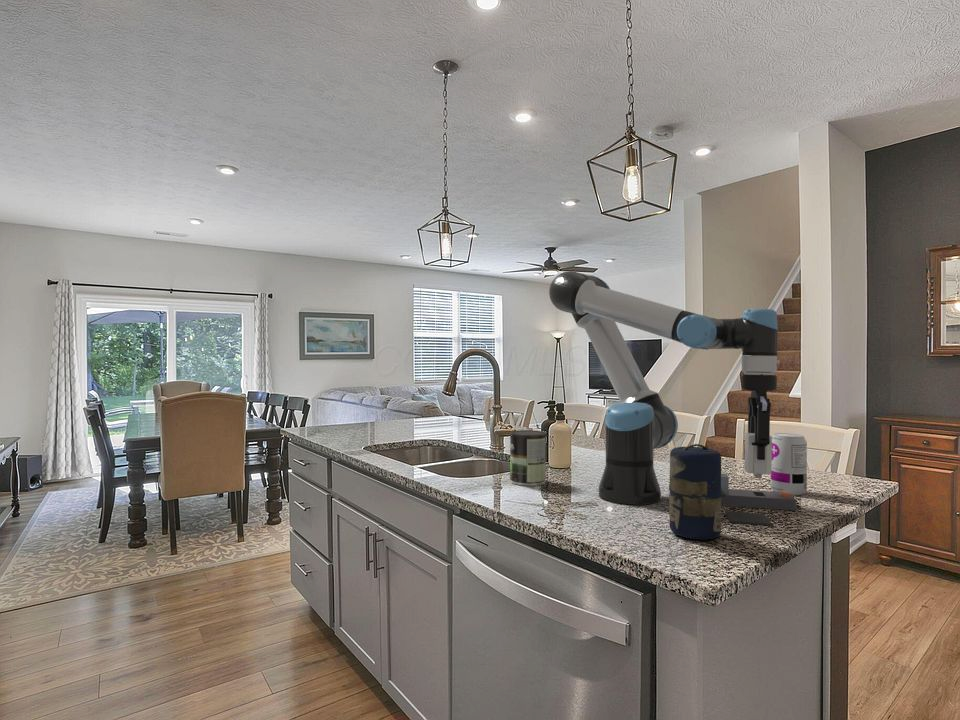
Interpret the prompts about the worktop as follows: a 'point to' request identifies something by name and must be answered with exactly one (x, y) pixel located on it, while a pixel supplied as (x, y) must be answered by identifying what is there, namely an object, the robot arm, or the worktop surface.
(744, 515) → the mat
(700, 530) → the canister
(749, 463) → the block
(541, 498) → the worktop surface
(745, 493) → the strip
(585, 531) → the worktop surface
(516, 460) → the coffee can
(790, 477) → the supplement can
